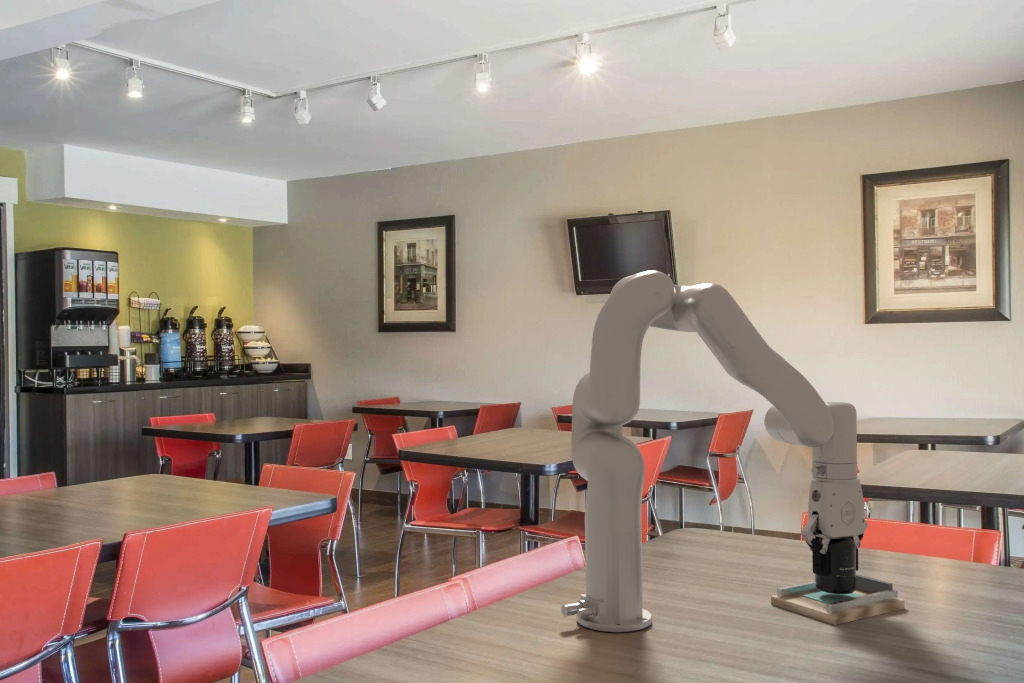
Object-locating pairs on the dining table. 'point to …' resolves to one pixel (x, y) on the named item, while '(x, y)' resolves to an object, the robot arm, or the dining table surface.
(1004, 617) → the dining table surface
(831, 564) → the supplement bottle
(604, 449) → the robot arm
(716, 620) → the dining table surface
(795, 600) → the board
